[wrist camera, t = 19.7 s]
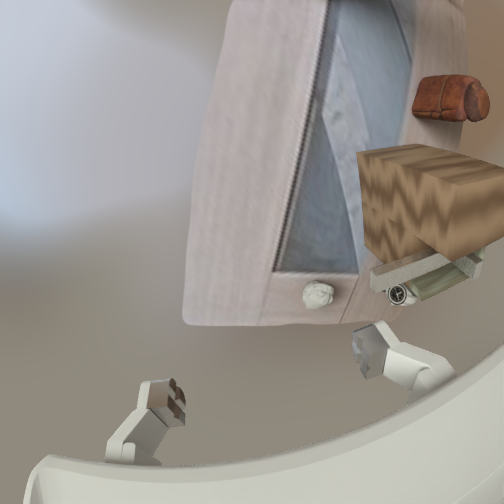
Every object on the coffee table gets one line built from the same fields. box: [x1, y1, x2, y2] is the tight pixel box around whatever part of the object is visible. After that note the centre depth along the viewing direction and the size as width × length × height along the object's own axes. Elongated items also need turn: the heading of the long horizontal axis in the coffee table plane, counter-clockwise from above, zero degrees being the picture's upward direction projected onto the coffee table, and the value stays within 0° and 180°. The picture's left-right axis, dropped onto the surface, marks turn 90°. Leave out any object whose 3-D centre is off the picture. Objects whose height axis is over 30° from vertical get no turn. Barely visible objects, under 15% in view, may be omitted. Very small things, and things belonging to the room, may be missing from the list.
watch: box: [383, 283, 418, 306], centre depth 55 cm, size 6×8×11 cm
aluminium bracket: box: [370, 247, 483, 293], centre depth 34 cm, size 3×18×8 cm, turn 103°
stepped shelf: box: [356, 144, 504, 301], centre depth 39 cm, size 20×16×26 cm
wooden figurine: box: [412, 75, 490, 122], centre depth 34 cm, size 12×6×18 cm, turn 159°
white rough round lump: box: [302, 281, 334, 310], centre depth 55 cm, size 6×7×7 cm
